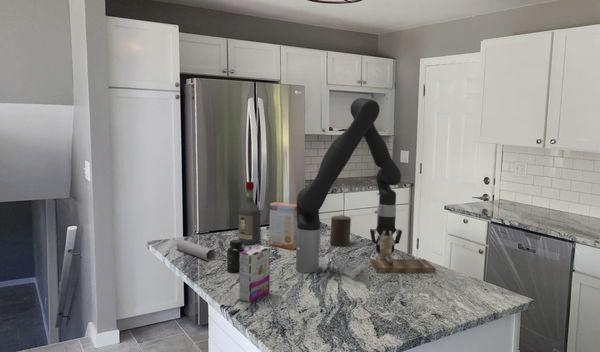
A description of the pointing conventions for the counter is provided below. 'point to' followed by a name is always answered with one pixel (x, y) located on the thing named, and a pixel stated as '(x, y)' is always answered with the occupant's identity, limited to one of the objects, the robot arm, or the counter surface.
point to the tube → (196, 250)
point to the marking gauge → (385, 249)
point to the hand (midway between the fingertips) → (384, 252)
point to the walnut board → (402, 266)
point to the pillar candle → (340, 231)
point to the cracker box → (283, 225)
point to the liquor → (249, 218)
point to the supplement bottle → (234, 256)
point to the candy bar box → (254, 273)
